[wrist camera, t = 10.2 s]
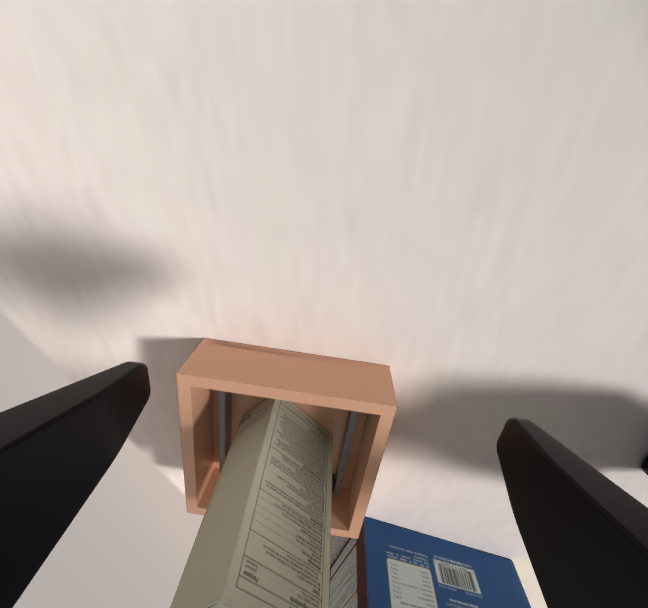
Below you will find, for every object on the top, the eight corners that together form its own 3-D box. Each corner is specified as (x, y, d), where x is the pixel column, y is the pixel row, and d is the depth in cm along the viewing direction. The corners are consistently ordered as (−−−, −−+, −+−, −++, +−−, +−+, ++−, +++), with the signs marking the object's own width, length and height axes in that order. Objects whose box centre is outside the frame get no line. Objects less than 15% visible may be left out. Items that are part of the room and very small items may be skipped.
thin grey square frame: (359, 388, 23) (359, 403, 21) (338, 478, 27) (338, 495, 25) (226, 368, 23) (218, 381, 21) (226, 460, 27) (219, 477, 25)
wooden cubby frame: (389, 365, 22) (397, 406, 19) (356, 489, 28) (357, 539, 24) (204, 338, 22) (176, 373, 19) (207, 466, 28) (186, 512, 24)
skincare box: (239, 418, 24) (150, 632, 13) (278, 387, 23) (214, 600, 12) (298, 463, 26) (262, 687, 15) (338, 437, 25) (331, 665, 14)
